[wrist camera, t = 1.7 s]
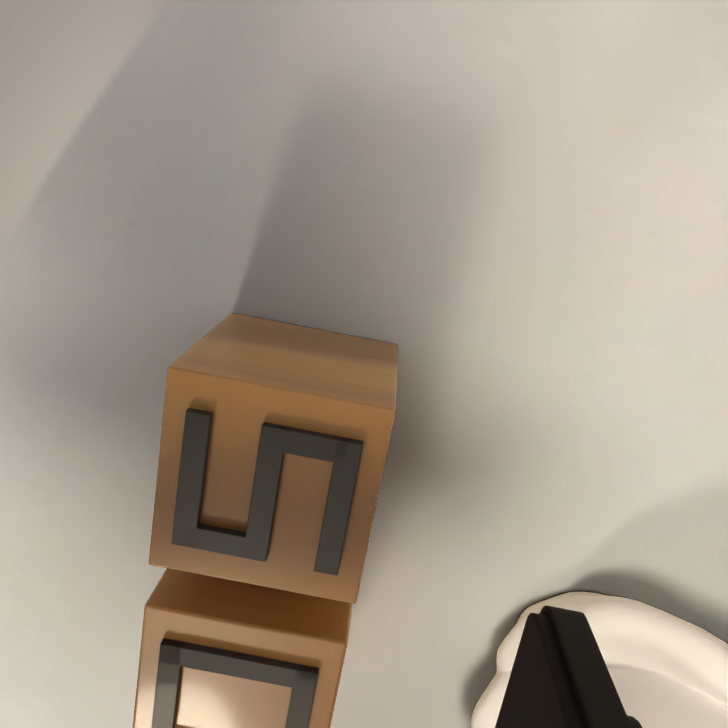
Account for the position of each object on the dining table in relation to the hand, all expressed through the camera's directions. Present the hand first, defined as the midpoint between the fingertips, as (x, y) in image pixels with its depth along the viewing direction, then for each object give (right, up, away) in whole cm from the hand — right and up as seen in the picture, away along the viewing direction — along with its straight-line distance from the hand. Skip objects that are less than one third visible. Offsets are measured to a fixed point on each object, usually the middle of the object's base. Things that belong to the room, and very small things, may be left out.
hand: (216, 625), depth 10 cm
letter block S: (+1, +3, +8) cm, 9 cm away
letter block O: (0, -2, +10) cm, 10 cm away
